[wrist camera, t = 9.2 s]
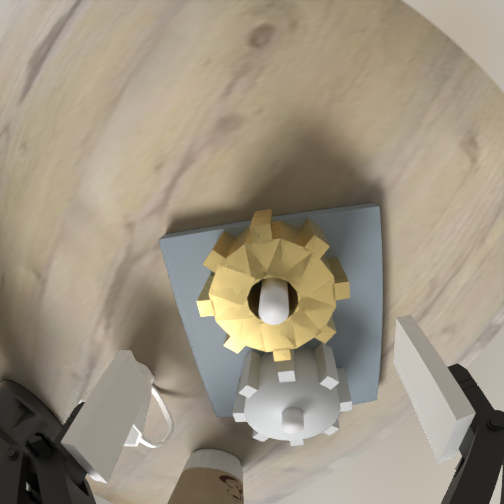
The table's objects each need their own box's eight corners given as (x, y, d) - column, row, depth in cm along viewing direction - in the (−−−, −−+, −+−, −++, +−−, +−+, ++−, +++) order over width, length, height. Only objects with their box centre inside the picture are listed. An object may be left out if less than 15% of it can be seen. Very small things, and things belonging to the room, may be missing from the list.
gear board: (218, 407, 32) (207, 460, 24) (164, 234, 25) (125, 268, 18) (373, 390, 29) (389, 443, 22) (373, 202, 23) (410, 227, 16)
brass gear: (224, 333, 26) (215, 366, 22) (197, 220, 23) (179, 238, 19) (341, 318, 25) (351, 350, 21) (331, 200, 22) (343, 213, 18)
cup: (129, 338, 29) (94, 389, 22) (199, 398, 31) (181, 455, 24) (98, 365, 31) (66, 411, 24) (161, 418, 33) (142, 468, 26)
